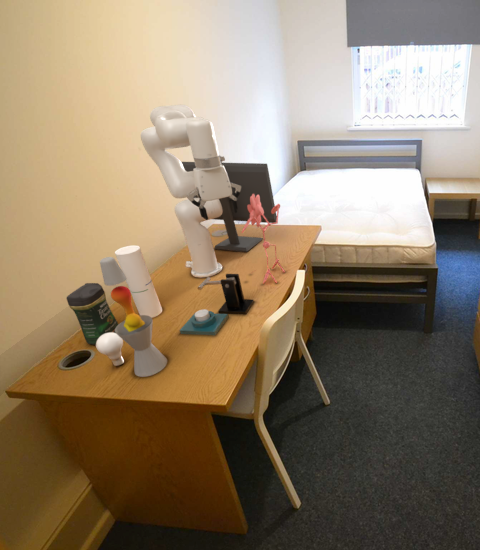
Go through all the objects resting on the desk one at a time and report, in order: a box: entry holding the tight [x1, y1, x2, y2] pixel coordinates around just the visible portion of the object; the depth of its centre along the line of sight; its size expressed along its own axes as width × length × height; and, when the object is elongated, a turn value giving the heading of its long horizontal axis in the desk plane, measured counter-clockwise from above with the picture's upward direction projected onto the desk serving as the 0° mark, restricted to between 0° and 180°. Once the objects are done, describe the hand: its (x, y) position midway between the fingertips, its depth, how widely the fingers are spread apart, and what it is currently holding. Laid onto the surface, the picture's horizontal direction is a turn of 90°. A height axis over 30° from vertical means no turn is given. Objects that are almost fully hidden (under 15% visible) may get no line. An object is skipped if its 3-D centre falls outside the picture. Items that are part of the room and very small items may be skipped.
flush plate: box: [179, 310, 229, 336], centre depth 122 cm, size 12×10×4 cm
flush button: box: [194, 308, 210, 322], centre depth 121 cm, size 4×4×2 cm
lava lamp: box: [99, 256, 168, 378], centre depth 98 cm, size 9×9×35 cm
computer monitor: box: [181, 161, 279, 253], centre depth 172 cm, size 44×16×40 cm, turn 77°
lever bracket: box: [217, 273, 255, 316], centre depth 129 cm, size 10×8×13 cm
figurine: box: [241, 194, 286, 285], centre depth 144 cm, size 15×26×35 cm, turn 171°
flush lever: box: [197, 276, 237, 291], centre depth 127 cm, size 12×7×2 cm, turn 84°
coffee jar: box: [66, 282, 119, 346], centre depth 115 cm, size 10×8×19 cm
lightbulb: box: [95, 332, 125, 367], centre depth 105 cm, size 6×6×11 cm
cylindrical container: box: [114, 244, 163, 319], centre depth 125 cm, size 7×7×25 cm
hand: (220, 215), depth 121 cm, fingers open, 9 cm apart
